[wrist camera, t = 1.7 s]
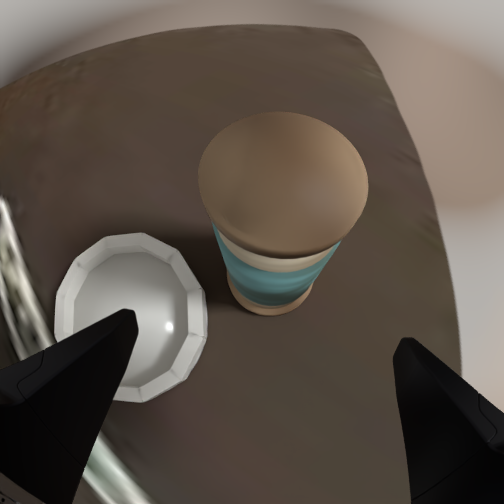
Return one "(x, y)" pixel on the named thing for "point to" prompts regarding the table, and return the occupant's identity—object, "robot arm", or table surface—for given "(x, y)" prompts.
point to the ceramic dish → (138, 308)
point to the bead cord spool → (280, 204)
